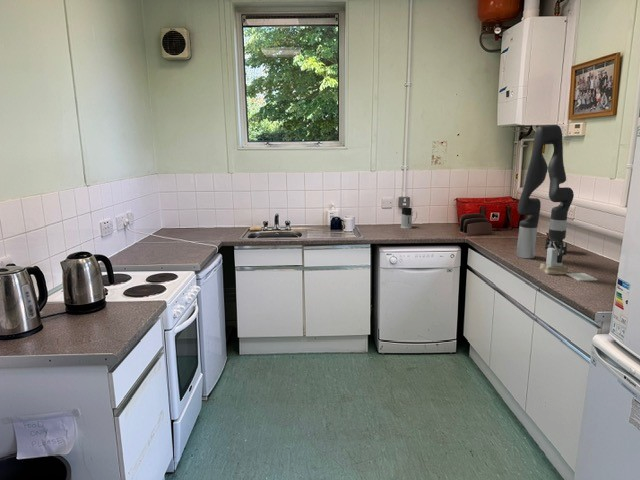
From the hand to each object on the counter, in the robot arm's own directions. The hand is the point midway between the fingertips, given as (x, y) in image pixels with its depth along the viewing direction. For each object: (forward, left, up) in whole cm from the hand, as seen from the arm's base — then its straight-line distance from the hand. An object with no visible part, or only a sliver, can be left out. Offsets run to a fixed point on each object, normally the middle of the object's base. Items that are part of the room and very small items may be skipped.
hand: (554, 260), depth 218 cm
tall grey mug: (-126, -41, -6) cm, 133 cm away
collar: (0, 0, -6) cm, 6 cm away
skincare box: (0, 0, -6) cm, 6 cm away
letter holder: (-100, +1, -6) cm, 101 cm away
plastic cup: (-44, +26, -6) cm, 52 cm away
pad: (+10, +8, -6) cm, 14 cm away
